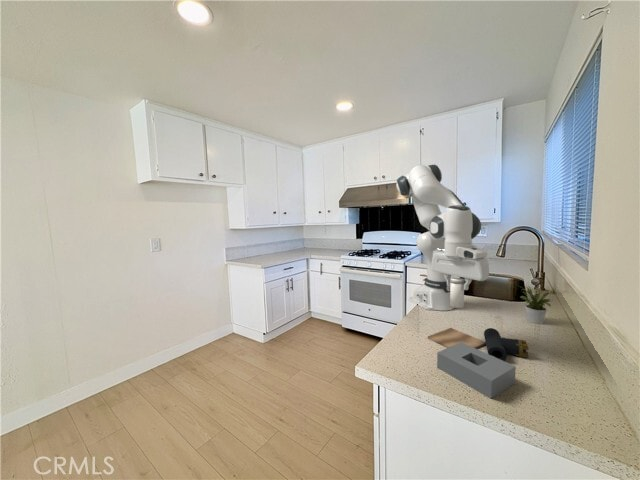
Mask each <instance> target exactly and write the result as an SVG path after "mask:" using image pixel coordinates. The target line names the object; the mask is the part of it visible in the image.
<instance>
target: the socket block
mask: <svg viewBox="0 0 640 480" xmlns="http://www.w3.org/2000/svg"><path fill="white" fill-rule="evenodd" d="M436 355H437V356H436V357H437V358H436V359H437V360H436V361H437V362H436V365H437V366H436V368H437V369H439V370H441V371H442V372H444V373H447V374H448V375H449V376H451V377H453V378H455V379H456V380H458V381H460V382H461V383H463V384H464V385H467V386H468V387H470V388H472V389H473V390H475V391H477V392H479V393H480V394H481V395H484V396H485V397H487V398H489V399H493V398H495V397H496V396H498V395H499V394H500V393H502V392H503V391H505V390H507V389H508V388H510V387H511V386H513V385H514V384H515V383H516V369H517V367H516V365H515V364H514V365H513V364H511V363H509V362H507V361H506V360H505V361H502V360H500V359H498V358H496V357H493V356H491V355H489V354H488V352H484V351H482V350H479V348H477V349H475V348H473V347H471V346H469V345H466V344H464V343H462V342H460V343H458V344H456V345H453V346H451V347H449V348H446V347H445V349H442V350H440V351H437V353H436Z"/></svg>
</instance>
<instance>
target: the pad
mask: <svg viewBox="0 0 640 480" xmlns="http://www.w3.org/2000/svg"><path fill="white" fill-rule="evenodd" d="M427 339H428V340H431V341H432V342H434V343H436V344H439V345H441V346H442V347H444V348H445V349H446V348H449V347H451V346H453V345H456V344H458V343H460V342H462V343H464V344H466V345H469V346H471V347H473V348H475V349H479V348H481V347H483V346H486V342H485V340H482V339H479V338H477V337H475V336H472V335H469V334H467V333H464V332H463V331H459V330H457V329H456V328H455V329H454V328H452V327H449V328H447V329H446V328H445V329H444V330H441V331H439V332H435V333H433V334H430V335H428V336H427Z"/></svg>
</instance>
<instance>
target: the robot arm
mask: <svg viewBox="0 0 640 480" xmlns="http://www.w3.org/2000/svg"><path fill="white" fill-rule="evenodd" d="M442 177H443V175H442V170H441V169H440V168H439V166H438V165H437V164H428V165H427V166H426V165H424V164H419V165H416V166H414V167H413V168H412V169H410V172H408V173H406V174H404V175H401V176H400V177H398V178H397V179H396V183H395V185H396V190H397V192H398V193H399V194H400V195H402V196H403V197H404V196H406V197H407V196H410V195H412V203H413V207H414V210H415V213H416V215H417V218H418V221H419V223H420V225H421V226H422V227H424V228H426V229H427V230H428V231H426V232H425V231H424V232H423V233H420V234H419V235H418V236H417V238H416V241H415V242H416V244H415V245H416V246H417V247H416V248H417V249H418V250H419V252H421V253H422V254H423V256H424V259H425V261H426V274H427V275H426V278H423V279H422V282H424V284H421V285H420V286H418V287H417V288H415V289H414V291H413V296H411V297H410V298H409V299H408V301H409V302H410V303H413V304H415V305H417V304H418V305H417V306H418V307H421V309H425V310H427V311H428V310H429V311H430V310H431V311H433V310H434V311H440V312H441V311H451V310H454V309H455V307H452V306H450V279H451V278H452V276H453V277H454V276H455V277H458V278H459V277H460V278H462V279H464V284H462V289H463V290H464V291H468V290H469V286H470V284H471V283H472V281H473V280H474V281H479V282H484V281H486V280H488V279H489V277H490V266H489V261H488V260H487V257H488V252H487V250H484V249H481V248H479V247H477V246H475V245H473V239H475V238H476V237H477V236H478V235H479V234H480V231H481V230H482V221H481V219H480V218H479V217H478V216H477V215H476V214H475V213H474V212H472V210H471V208H470V207H469V206H466V205H465V204H464V202H462V200H461V199H460V198H459V196H457V194H455V192H453V190H451V189H449V188H448V187H446V186H444V185H443V184H442V183H441V182H442V181H443V178H442ZM439 206H441V207H444V208H446V209H445V211H444V212H443V213H442V212H441V211H442V210H440V207H439ZM420 301H421V302H420ZM419 302H420V303H419Z"/></svg>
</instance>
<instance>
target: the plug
mask: <svg viewBox="0 0 640 480" xmlns="http://www.w3.org/2000/svg"><path fill="white" fill-rule="evenodd" d="M462 284H465V278H462V277H460V278H459V277H451V279H450V306H452V307H454V308H455V309H456V308H457V309H462V308H463V309H464V307H465V306H464V305H465V290H463V289H462Z"/></svg>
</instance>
